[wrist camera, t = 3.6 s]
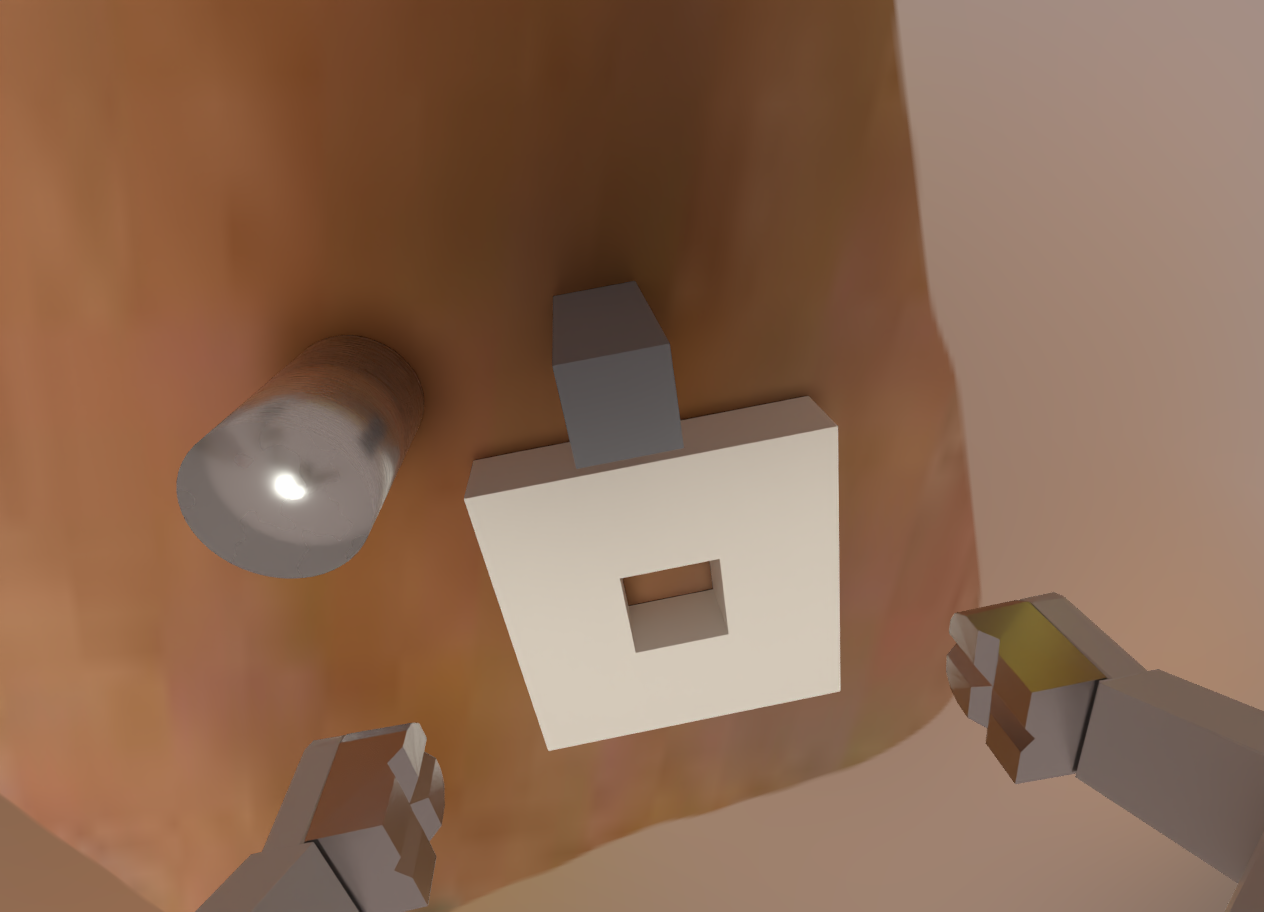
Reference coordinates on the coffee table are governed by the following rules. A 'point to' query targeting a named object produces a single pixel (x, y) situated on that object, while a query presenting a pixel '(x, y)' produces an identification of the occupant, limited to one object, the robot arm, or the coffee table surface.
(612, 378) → the square peg
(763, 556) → the socket block
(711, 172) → the coffee table surface
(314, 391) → the round peg
